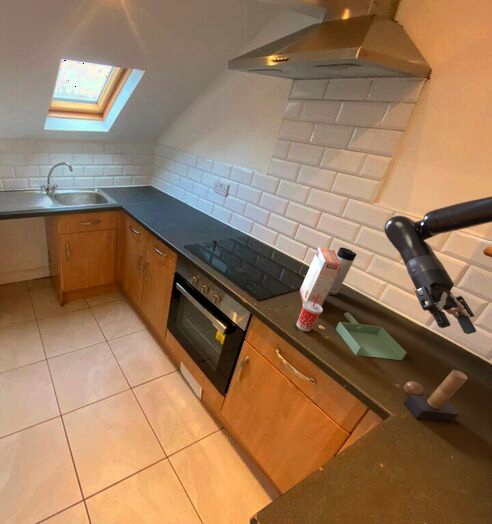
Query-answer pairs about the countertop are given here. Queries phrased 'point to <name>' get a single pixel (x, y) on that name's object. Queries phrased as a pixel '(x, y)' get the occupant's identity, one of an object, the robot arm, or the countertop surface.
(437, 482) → the countertop surface
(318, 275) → the cracker box
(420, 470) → the countertop surface
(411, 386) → the cork ball
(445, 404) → the brush
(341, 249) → the travel mug
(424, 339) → the countertop surface
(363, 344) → the dustpan
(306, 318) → the beverage cup
